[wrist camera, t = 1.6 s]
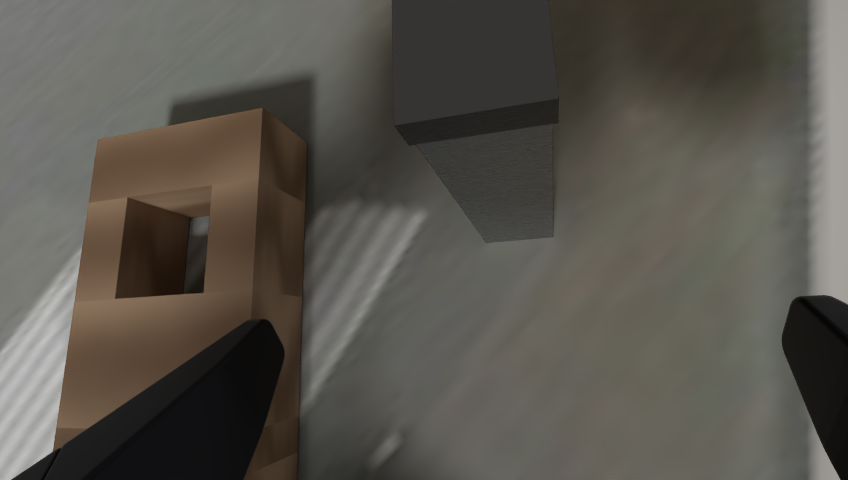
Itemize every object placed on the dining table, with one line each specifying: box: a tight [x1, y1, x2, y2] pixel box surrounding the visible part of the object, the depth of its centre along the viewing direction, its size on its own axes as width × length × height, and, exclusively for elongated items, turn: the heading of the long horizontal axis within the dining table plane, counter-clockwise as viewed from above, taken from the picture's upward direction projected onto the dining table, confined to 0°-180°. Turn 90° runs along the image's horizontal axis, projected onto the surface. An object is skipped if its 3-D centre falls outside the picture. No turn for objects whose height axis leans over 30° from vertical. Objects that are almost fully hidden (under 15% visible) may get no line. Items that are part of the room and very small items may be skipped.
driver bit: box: [392, 0, 559, 243], centre depth 15 cm, size 3×3×12 cm
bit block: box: [53, 108, 307, 480], centre depth 22 cm, size 20×10×4 cm, turn 2°
